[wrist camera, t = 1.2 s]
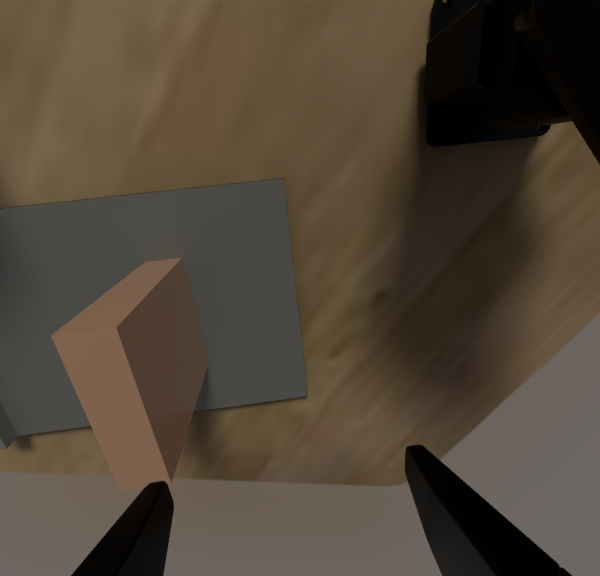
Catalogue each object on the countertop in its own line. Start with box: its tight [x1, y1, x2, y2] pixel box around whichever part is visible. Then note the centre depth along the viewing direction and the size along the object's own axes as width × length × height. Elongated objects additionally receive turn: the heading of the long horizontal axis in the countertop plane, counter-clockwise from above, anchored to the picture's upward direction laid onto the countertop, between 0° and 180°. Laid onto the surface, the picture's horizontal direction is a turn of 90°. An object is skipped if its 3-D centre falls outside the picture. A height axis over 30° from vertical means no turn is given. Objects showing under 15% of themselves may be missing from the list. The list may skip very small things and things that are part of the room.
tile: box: [51, 258, 208, 491], centre depth 15 cm, size 2×7×8 cm, turn 6°
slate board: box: [0, 178, 308, 449], centre depth 18 cm, size 20×14×2 cm
